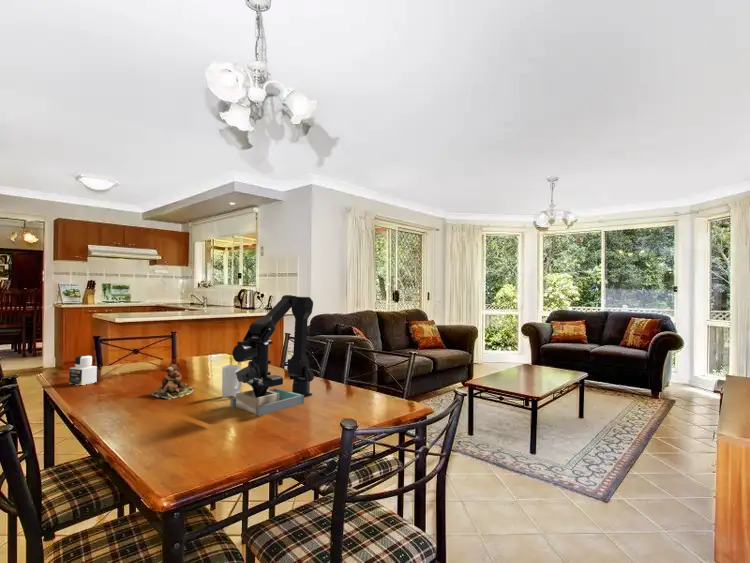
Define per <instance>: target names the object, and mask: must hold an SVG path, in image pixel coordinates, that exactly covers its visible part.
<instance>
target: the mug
mask: <svg viewBox="0 0 750 563" xmlns="http://www.w3.org/2000/svg"><path fill="white" fill-rule="evenodd" d="M221 368H222V371H221V373H222V374H221V378H222V379H221V380H222V381H221V382H222V384H221V385H222V387H221V388H222V389H221V391H222V392H221V393H222V394H221V395H222V396H221V398H223V399H224V398H228V397H236V393H241V388H242V382H238V379H237V375H236V372H238V371H240V370H241V365H238V364H227V365H223V366H222V367H221Z"/></svg>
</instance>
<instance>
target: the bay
mask: <svg viewBox="0 0 750 563" xmlns="http://www.w3.org/2000/svg"><path fill="white" fill-rule="evenodd" d="M268 390H269V391H273V392H276V393H279V401H276V402H272V403H268V404H264V405H261V406H257V414H256V415H257V416H258V417H261V416H264V415H268V414H270V413H271V414H272V413H275V412H278V411H282V410H285V409H289V408H292V407H296V406H299V405H302V404H305V397H304V395H301V394H297V393H293V392H292V391H290V390H284V389H280V388H276V387H274V388H270V389H268ZM229 405H230V408H232V409H233V408H236V396H234V397H230V404H229Z"/></svg>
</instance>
